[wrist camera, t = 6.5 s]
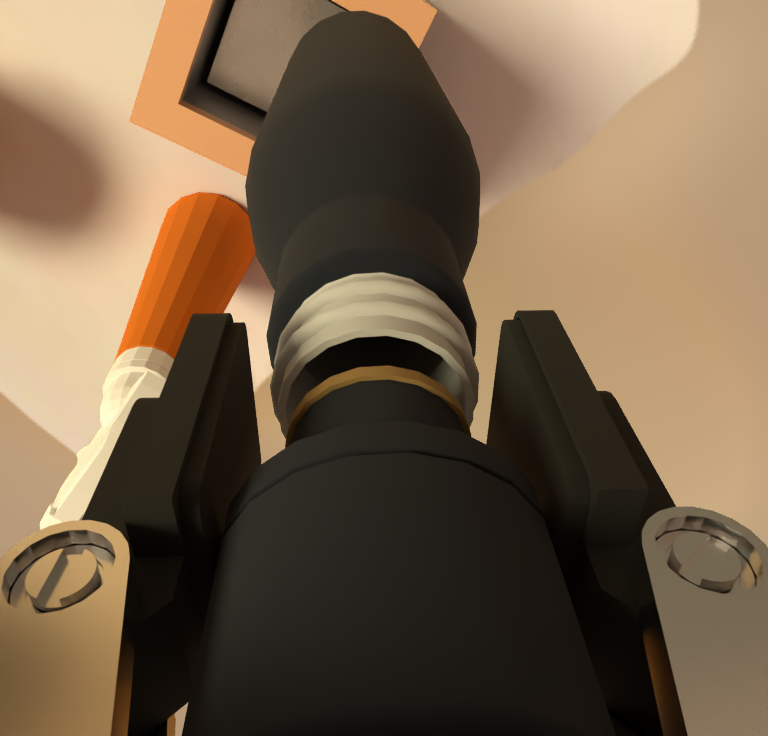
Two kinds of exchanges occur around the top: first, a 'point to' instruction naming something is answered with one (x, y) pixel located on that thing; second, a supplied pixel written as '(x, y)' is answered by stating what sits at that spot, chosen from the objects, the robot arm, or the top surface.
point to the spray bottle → (162, 324)
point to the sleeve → (209, 103)
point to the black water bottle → (380, 441)
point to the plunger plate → (263, 45)
